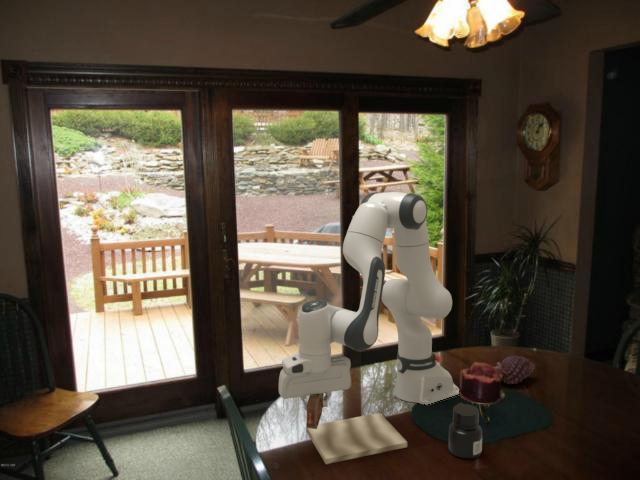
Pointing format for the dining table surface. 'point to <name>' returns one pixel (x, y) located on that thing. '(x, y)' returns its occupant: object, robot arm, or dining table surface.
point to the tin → (314, 410)
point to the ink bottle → (465, 432)
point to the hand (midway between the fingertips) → (315, 407)
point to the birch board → (355, 438)
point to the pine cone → (514, 369)
